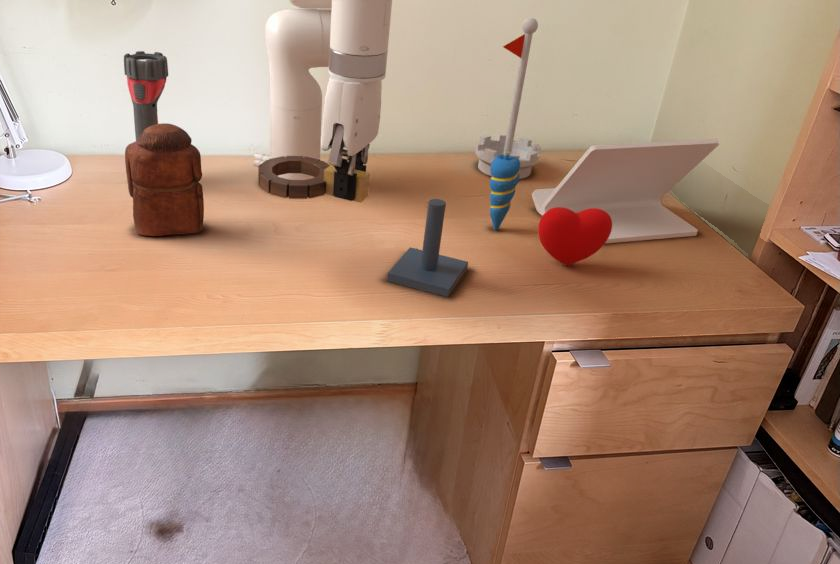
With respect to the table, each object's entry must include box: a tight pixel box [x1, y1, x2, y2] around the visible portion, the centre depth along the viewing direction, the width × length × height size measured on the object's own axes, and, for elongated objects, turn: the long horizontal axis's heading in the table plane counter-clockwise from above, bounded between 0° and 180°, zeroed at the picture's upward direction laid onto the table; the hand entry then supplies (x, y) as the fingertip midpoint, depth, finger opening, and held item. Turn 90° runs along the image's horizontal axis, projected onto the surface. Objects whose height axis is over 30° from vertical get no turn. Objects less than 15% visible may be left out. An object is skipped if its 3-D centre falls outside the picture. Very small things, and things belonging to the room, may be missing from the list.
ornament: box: [489, 148, 520, 231], centre depth 134 cm, size 5×5×15 cm
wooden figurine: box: [124, 122, 205, 237], centre depth 127 cm, size 12×6×18 cm, turn 106°
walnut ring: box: [257, 156, 371, 204], centre depth 113 cm, size 16×11×4 cm, turn 66°
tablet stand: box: [531, 138, 720, 244], centre depth 140 cm, size 18×25×17 cm
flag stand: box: [474, 17, 542, 180], centre depth 155 cm, size 13×13×30 cm
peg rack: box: [386, 198, 469, 298], centre depth 119 cm, size 10×10×12 cm
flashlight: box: [123, 50, 169, 141], centre depth 143 cm, size 8×8×23 cm
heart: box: [537, 207, 612, 266], centre depth 126 cm, size 12×5×10 cm, turn 92°
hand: (348, 193), depth 112 cm, fingers closed on walnut ring, 2 cm apart
